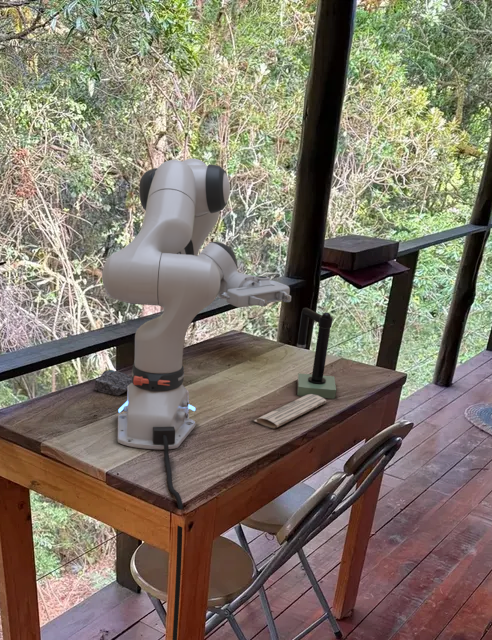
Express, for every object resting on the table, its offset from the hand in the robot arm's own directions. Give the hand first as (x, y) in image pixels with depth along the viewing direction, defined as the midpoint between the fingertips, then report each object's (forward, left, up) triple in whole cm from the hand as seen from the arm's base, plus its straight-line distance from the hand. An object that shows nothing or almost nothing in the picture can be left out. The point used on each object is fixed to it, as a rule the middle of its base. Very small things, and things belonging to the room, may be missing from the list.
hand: (277, 301), depth 210 cm
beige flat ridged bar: (-35, -6, -19) cm, 40 cm away
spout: (-13, -10, -10) cm, 19 cm away
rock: (-30, +40, -19) cm, 53 cm away
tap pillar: (-17, -13, -16) cm, 27 cm away
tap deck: (-17, -13, -19) cm, 28 cm away
